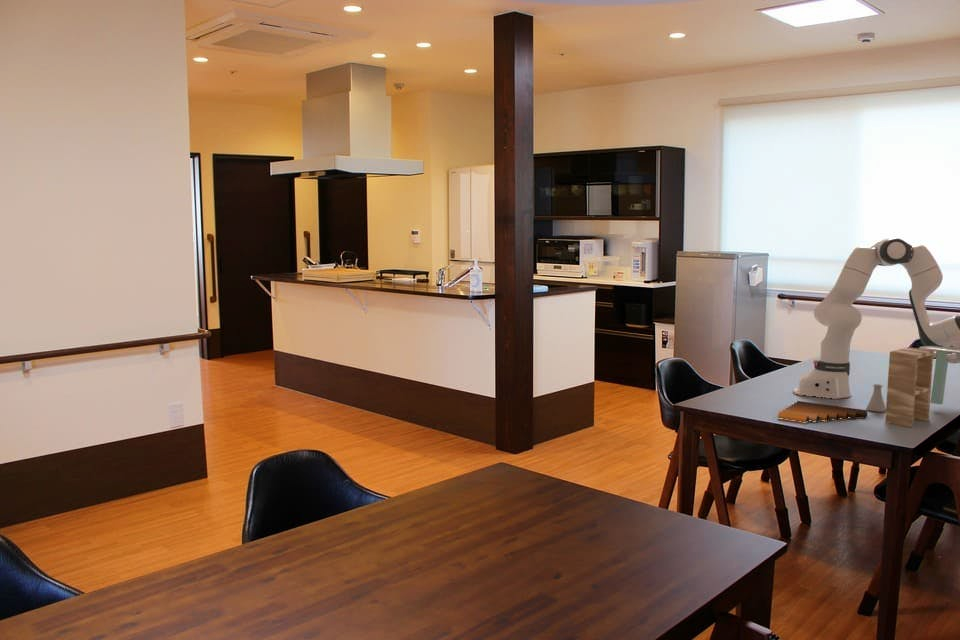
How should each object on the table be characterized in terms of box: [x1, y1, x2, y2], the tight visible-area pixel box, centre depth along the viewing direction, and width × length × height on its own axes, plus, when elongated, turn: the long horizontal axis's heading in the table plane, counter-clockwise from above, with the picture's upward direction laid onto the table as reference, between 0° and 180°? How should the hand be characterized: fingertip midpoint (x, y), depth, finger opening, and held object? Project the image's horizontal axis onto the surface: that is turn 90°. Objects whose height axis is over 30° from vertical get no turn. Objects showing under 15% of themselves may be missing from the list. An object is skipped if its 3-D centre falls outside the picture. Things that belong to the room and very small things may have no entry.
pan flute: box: [777, 400, 868, 422], centre depth 294 cm, size 25×3×25 cm
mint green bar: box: [930, 351, 949, 405], centre depth 304 cm, size 20×3×3 cm
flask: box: [865, 383, 886, 413], centre depth 305 cm, size 7×7×10 cm
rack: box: [884, 347, 934, 428], centre depth 287 cm, size 15×9×26 cm, turn 130°
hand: (940, 356), depth 303 cm, fingers closed on mint green bar, 3 cm apart
